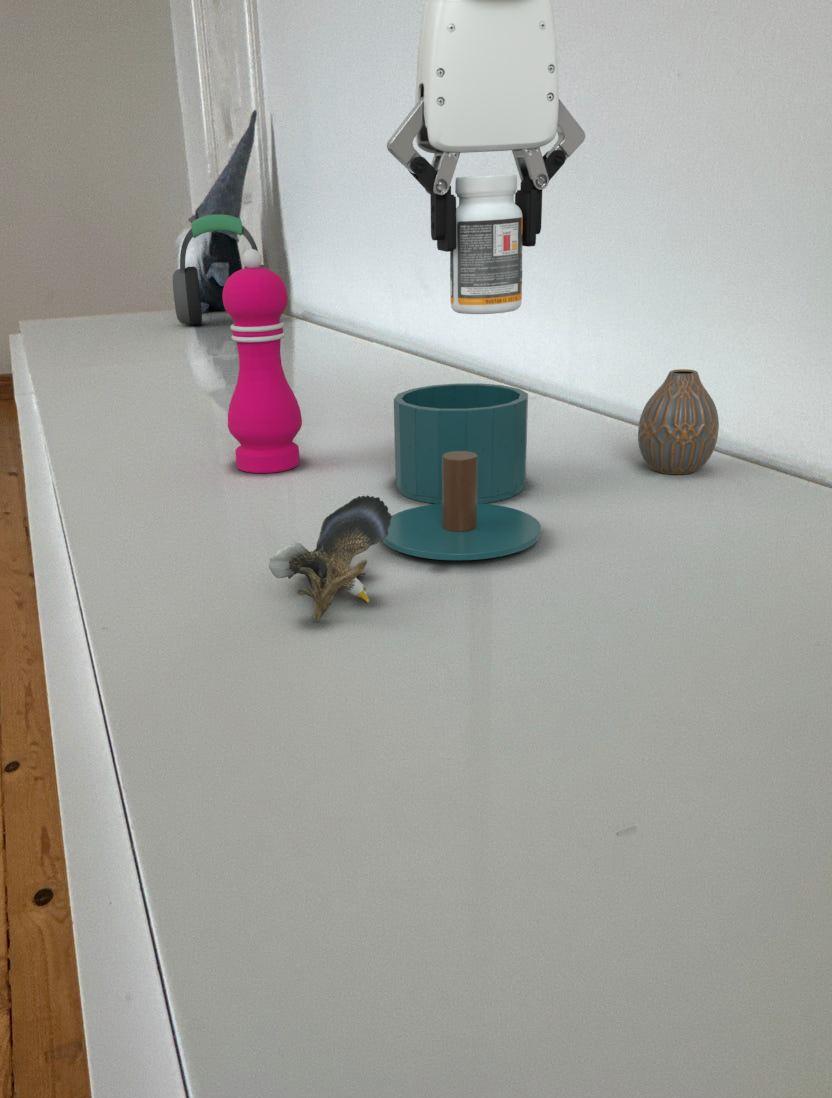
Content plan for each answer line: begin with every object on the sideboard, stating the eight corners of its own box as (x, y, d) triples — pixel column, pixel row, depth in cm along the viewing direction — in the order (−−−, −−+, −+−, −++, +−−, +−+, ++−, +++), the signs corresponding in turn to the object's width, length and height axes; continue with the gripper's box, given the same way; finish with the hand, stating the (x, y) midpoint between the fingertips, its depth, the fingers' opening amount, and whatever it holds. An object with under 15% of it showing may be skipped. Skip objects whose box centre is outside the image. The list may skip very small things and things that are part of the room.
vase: (669, 483, 87) (679, 382, 84) (619, 466, 93) (626, 370, 90) (730, 471, 90) (742, 372, 86) (678, 455, 96) (687, 361, 92)
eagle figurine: (404, 609, 62) (417, 536, 69) (335, 524, 59) (356, 457, 66) (310, 660, 65) (331, 585, 72) (239, 581, 62) (269, 512, 70)
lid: (510, 509, 83) (512, 430, 80) (564, 558, 72) (569, 468, 69) (366, 523, 81) (363, 443, 78) (399, 576, 70) (397, 485, 67)
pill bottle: (536, 309, 80) (540, 172, 75) (482, 317, 77) (483, 175, 73) (488, 304, 84) (490, 174, 80) (435, 312, 81) (434, 177, 77)
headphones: (271, 317, 205) (264, 211, 197) (274, 324, 196) (266, 213, 187) (179, 322, 204) (167, 216, 195) (177, 329, 194) (164, 218, 185)
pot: (501, 464, 96) (503, 379, 92) (543, 497, 85) (546, 403, 82) (385, 475, 94) (382, 389, 90) (413, 510, 84) (411, 415, 80)
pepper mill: (237, 457, 102) (217, 248, 94) (307, 454, 102) (294, 244, 94) (226, 476, 96) (205, 253, 87) (301, 473, 95) (287, 250, 87)
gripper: (582, -18, 75) (571, 239, 83) (359, -13, 73) (369, 252, 80) (625, -38, 69) (608, 244, 76) (380, -33, 66) (389, 258, 74)
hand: (485, 245), depth 78 cm, fingers closed on pill bottle, 5 cm apart
